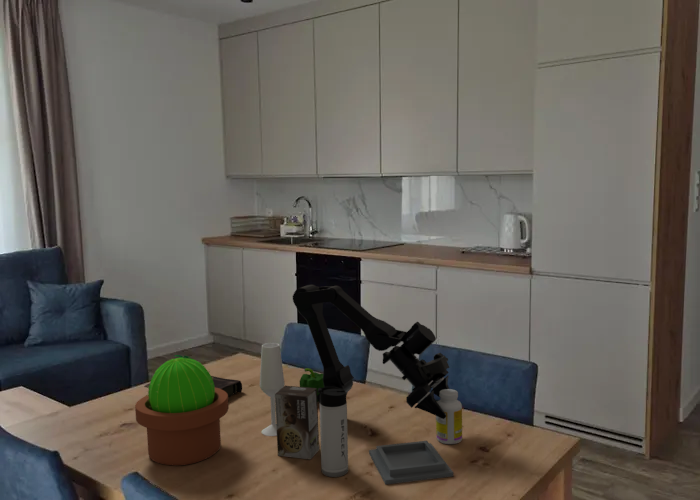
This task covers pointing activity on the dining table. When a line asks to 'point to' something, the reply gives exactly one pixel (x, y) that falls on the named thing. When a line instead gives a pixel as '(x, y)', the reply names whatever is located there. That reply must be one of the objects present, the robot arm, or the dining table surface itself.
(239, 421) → the dining table surface
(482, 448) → the dining table surface
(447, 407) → the supplement bottle
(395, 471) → the holder board
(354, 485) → the dining table surface
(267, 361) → the champagne flute
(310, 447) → the cookie box
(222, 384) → the diary
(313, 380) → the bell pepper
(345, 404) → the travel mug
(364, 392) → the dining table surface
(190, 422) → the potted cactus
